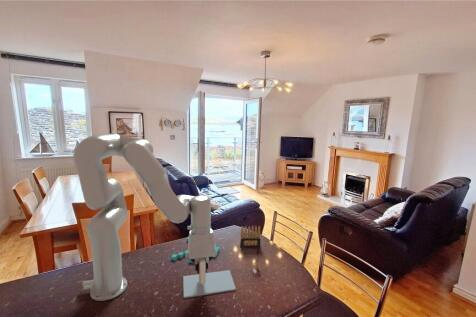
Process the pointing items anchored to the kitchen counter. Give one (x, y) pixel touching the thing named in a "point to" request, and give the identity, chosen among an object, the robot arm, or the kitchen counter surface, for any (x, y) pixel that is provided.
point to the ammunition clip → (250, 238)
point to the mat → (208, 284)
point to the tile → (202, 270)
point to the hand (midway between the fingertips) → (201, 270)
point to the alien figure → (186, 253)
